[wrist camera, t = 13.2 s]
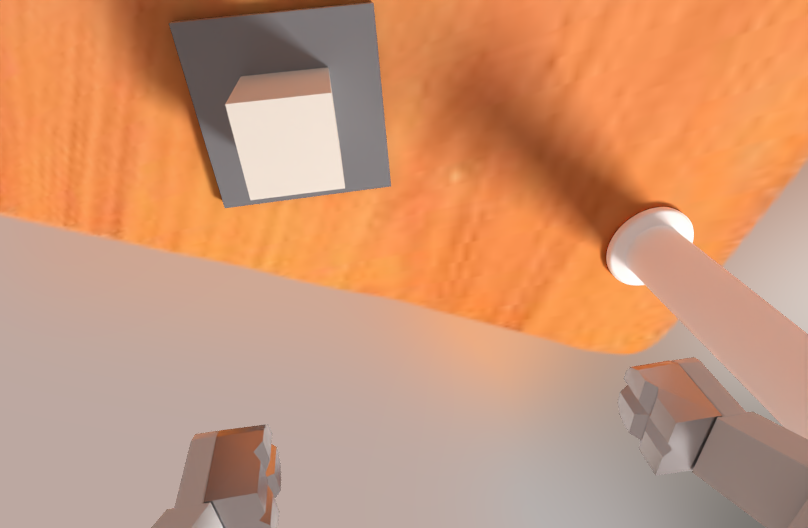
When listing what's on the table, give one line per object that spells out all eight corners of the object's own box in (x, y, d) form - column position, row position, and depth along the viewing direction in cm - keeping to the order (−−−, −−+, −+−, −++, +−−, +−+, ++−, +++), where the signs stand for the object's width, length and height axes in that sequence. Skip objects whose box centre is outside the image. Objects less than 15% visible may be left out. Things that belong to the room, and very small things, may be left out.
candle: (593, 279, 42) (872, 614, 21) (624, 203, 38) (1001, 515, 17) (666, 282, 43) (996, 597, 22) (703, 208, 39) (1140, 503, 19)
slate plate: (172, 21, 27) (168, 23, 26) (372, 1, 28) (373, 2, 27) (226, 202, 33) (224, 208, 32) (389, 181, 34) (390, 186, 33)
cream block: (240, 76, 28) (225, 104, 23) (328, 67, 29) (331, 92, 24) (260, 159, 31) (250, 200, 26) (340, 149, 32) (345, 188, 27)
